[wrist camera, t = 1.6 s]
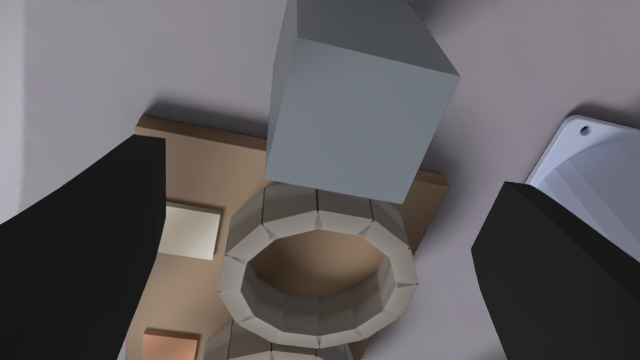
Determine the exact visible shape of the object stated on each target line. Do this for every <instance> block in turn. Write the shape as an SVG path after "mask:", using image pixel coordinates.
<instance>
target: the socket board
mask: <svg viewBox="0 0 640 360" xmlns="http://www.w3.org/2000/svg"><path fill="white" fill-rule="evenodd" d="M135 134H136V135H144V136H152V137H160V138H166V220H165V224H164V229H163V233H162V237H161V241H160V245H159V249H158V253H157V256H156V260H155V263H154V266H153V268H152V271H151V273H150V276H149V279H148V281H147V284H146V286H145V289H144V291H143V294H142V297H141V299H140V302H139V304H138V307H137V309H136V312H135V314H134V317H133V319H132V322H131V325H130V327H129V330H128V332H127V335H126V352H125V360H360V359H361V357H362V355H363V353H364V351H365V349H366V347H367V345H368V343H369V341H370V339H371V337H372V335H373V334H374V333H376V332H377V331H379V330H381V329H382V328H384V327H385V326H387V325H389V324H390V323H392V322H393V321H395V320H396V319H398V318H400V316H401V315H402V313H403V312H404V310H405V308H406V306H407V304H408V302H409V301H410V299H411V297H412V295H413V293H414V292H415V290H416V288H417V286H418V279H417V275H416V270H415V266H414V261H413V255H414V254H415V252H416V250H417V248H418V246H419V244H420V242H421V240H422V238H423V236H424V234H425V232H426V230H427V228H428V226H429V224H430V222H431V220H432V219H433V217H434V215H435V213H436V211H437V209H438V207H439V205H440V203H441V201H442V199H443V197H444V195H445V193H446V191H447V189H448V187H449V186H448V184H447V182H446V180H445V177H444V175H443V174H438V173H433V172H428V171H423V170H418V171H417V173H416V175H415V177H414V180H413V182H412V184H411V186H410V188H409V191H408V193H407V195H406V197H405V199H404V202H403V204H397V203H392V202H386V201H381V200H375V199H370V198H365V197H359V196H354V195H348V194H343V193H337V192H332V191H326V190H321V189H315V188H310V187H304V186H299V185H293V184H288V183H282V182H277V181H272V180H266V179H264V171H265V160H266V148H267V139H262V138H257V137H252V136H247V135H242V134H237V133H232V132H227V131H222V130H217V129H211V128H206V127H201V126H196V125H191V124H186V123H181V122H176V121H171V120H166V119H161V118H156V117H151V116H146V115H142V116H141V118H140V119H139V121H138V123H137V125H136V133H135Z"/></svg>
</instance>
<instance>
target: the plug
mask: <svg viewBox="0 0 640 360" xmlns="http://www.w3.org/2000/svg"><path fill="white" fill-rule="evenodd" d="M460 77H461V76H460V75H459V74H458V72H457V71H456V69H455V68H454V66H453V65H452V64H451V62H450V61H449V59H448V58H447V56H446V55H445V54H444V52H443V51H442V49H441V48H440V46H439V45H438V44H437V42H436V41H435V39H434V38H433V36H432V35H431V34H430V32H429V31H428V29H427V28H426V26H425V25H424V24H423V22H422V21H421V19H420V18H419V16H418V15H417V14H416V12H415V11H414V9H413V8H412V6H411V5H410V4H409V2H408V1H407V0H287V5H286V10H285V14H284V19H283V24H282V28H281V33H280V38H279V42H278V47H277V52H276V56H275V61H274V67H273V78H272V90H271V101H270V113H269V125H268V136H267V148H266V160H265V171H264V179H266V180H272V181H277V182H282V183H288V184H293V185H299V186H304V187H310V188H315V189H321V190H326V191H332V192H337V193H343V194H348V195H354V196H359V197H365V198H370V199H375V200H381V201H386V202H392V203H397V204H403V202H404V199H405V197H406V195H407V193H408V191H409V188H410V186H411V184H412V182H413V180H414V177H415V175H416V173H417V171H418V169H419V166H420V164H421V162H422V160H423V158H424V156H425V153H426V151H427V149H428V147H429V145H430V142H431V140H432V138H433V136H434V134H435V131H436V129H437V127H438V125H439V123H440V121H441V118H442V116H443V114H444V112H445V110H446V107H447V105H448V103H449V101H450V99H451V96H452V94H453V92H454V90H455V88H456V86H457V83H458V81H459V79H460Z"/></svg>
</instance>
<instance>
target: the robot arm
mask: <svg viewBox="0 0 640 360" xmlns="http://www.w3.org/2000/svg"><path fill="white" fill-rule="evenodd" d="M585 126H587V128H586V129H585V130H583V131H580V130H581V129H582V128H583V127H585ZM165 220H166V138H160V137H152V136H144V135H136V134H133V135H132V136H131V137H129V138H128V139H126V140H125V141H124V142H122V143H121V144H119V145H118V146H117V147H115V148H114V149H113V150H111V151H110V152H109V153H107V154H106V155H105V156H103V157H102V158H101V159H99V160H98V161H97V162H95V163H94V164H92V165H91V166H90V167H88V168H87V169H86V170H84V171H83V172H81V173H80V174H79V175H77V176H76V177H74V178H73V179H71V180H70V181H69V182H67V183H66V184H64V185H63V186H61V187H60V188H59V189H57V190H55V191H54V192H52V193H51V194H49V195H48V196H46V197H44V198H43V199H41V200H40V201H38V202H37V203H35V204H33V205H32V206H30V207H29V208H27V209H25V210H24V211H22V212H21V213H19V214H18V215H16V216H14V217H12V218H11V219H9V220H7V221H6V222H4V223H2V224H0V360H117V358H118V355H119V352H120V350H121V347H122V345H123V342H124V340H125V337H126V335H127V332H128V330H129V327H130V325H131V322H132V319H133V317H134V314H135V312H136V309H137V307H138V304H139V302H140V299H141V297H142V294H143V291H144V289H145V286H146V284H147V281H148V279H149V276H150V273H151V271H152V268H153V266H154V263H155V260H156V256H157V253H158V249H159V245H160V241H161V237H162V233H163V229H164V224H165ZM471 252H472V257H473V262H474V266H475V271H476V275H477V279H478V283H479V287H480V290H481V293H482V296H483V298H484V301H485V304H486V306H487V309H488V311H489V314H490V317H491V319H492V322H493V324H494V327H495V329H496V332H497V334H498V337H499V339H500V342H501V344H502V347H503V349H504V352H505V354H506V357H507V359H508V360H640V129H636V128H632V127H627V126H623V125H619V124H615V123H611V122H606V121H602V120H598V119H594V118H589V117H585V116H581V115H572V116H570V117H568V118H566V119H565V120H564V122H563V123H562V124H561V126H560V128H559V129H558V131H557V132H556V134H555V136H554V137H553V139H552V141H551V142H550V144H549V145H548V147H547V149H546V150H545V152H544V153H543V155H542V157H541V158H540V160H539V161H538V163H537V165H536V166H535V168H534V169H533V171H532V173H531V174H530V176H529V177H528V179H527V181H526V182H525V184H521V183H514V182H506V181H505V182H504V184H503V186H502V188H501V190H500V192H499V194H498V196H497V198H496V200H495V202H494V204H493V206H492V208H491V210H490V212H489V214H488V216H487V218H486V220H485V222H484V224H483V226H482V228H481V230H480V232H479V234H478V236H477V238H476V240H475V242H474V244H473V246H472V248H471Z"/></svg>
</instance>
